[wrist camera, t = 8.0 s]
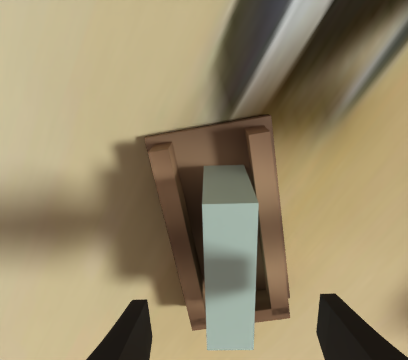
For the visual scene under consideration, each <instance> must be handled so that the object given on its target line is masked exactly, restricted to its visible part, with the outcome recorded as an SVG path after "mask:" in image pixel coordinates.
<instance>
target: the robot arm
mask: <svg viewBox="0 0 408 360" xmlns="http://www.w3.org/2000/svg"><path fill="white" fill-rule="evenodd" d="M316 333H317V336H318V339H319V343H320V346H321V349H322V352H323V355H324V358H325V360H408V357H406V356H405V355H404V354H403V353H401V352H400V351H399V350H398V349H396V348H395V347H394V346H393V345H391V344H390V343H389V342H388V341H387V340H385V339H384V338H383V337H382V336H381V335H380V334H378V333H377V332H376V331H375V330H374V329H373V328H372V327H371V326H369V325H368V324H367V323H366V322H365V321H364V320H363V319H362V318H361V317H360V316H359V315H358V314H356V313H355V312H354V311H353V310H352V309H351V308H350V307H349V306H348V305H347V304H346V303H345V302H344V301H343V300H342V299H341V298H339V297H338V296H337V295H336V294H320V302H319V312H318V321H317V331H316ZM151 344H152V331H151V323H150V316H149V309H148V302H147V300H132V301H131V302H130V304H129V305H128V307H127V308H126V309H125V311H124V312H123V314H122V315H121V316H120V318H119V319H118V321H117V322H116V323H115V325H114V326H113V327H112V329H111V330H110V331H109V333H108V334H107V335H106V336H105V338H104V339H103V340H102V342H101V343H100V344H99V345H98V346H97V348H96V349H95V350H94V351H93V352H92V353H91V355H90V356H89V357H88V358H87V359H86V360H149V358H150V351H151Z"/></svg>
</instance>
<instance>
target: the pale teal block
mask: <svg viewBox="0 0 408 360" xmlns="http://www.w3.org/2000/svg"><path fill="white" fill-rule="evenodd" d="M258 207H259V203H258V200H257V197H256V195H255V192H254V190H253V187H252V184H251V182H250V179H249V177H248V174H247V172H246V169H245V166H244V165H218V166H204V172H203V194H202V218H203V247H204V275H205V303H206V331H207V350H254V322H255V293H256V264H257V236H258Z"/></svg>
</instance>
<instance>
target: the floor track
mask: <svg viewBox="0 0 408 360" xmlns="http://www.w3.org/2000/svg"><path fill="white" fill-rule="evenodd" d="M144 140H145V144H146V148H147V152H148V156H149V160H150V164H151V168H152V172H153V176H154V180H155V184H156V188H157V191H158V195H159V199H160V203H161V207H162V211H163V215H164V219H165V223H166V227H167V231H168V235H169V239H170V243H171V247H172V251H173V255H174V259H175V263H176V267H177V271H178V275H179V279H180V283H181V287H182V291H183V295H184V299H185V303H186V307H187V311H188V315H189V319H190V323H191V327H192V331H193V330H201V329H206V303H205V275H204V247H203V218H202V194H203V172H204V166H218V165H244V166H245V169H246V172H247V174H248V177H249V179H250V182H251V184H252V187H253V190H254V192H255V195H256V197H257V200H258V203H259V207H258V236H257V264H256V293H255V322H263V321H271V320H279V319H286V318H290V312H289V303H288V298H290V293H289V283H288V274H287V264H286V254H285V245H284V235H283V226H282V216H281V206H280V197H279V187H278V178H277V168H276V158H275V149H274V139H273V129H272V120H271V115H264V116H258V117H252V118H247V119H241V120H236V121H230V122H225V123H219V124H213V125H208V126H202V127H197V128H191V129H185V130H180V131H174V132H169V133H163V134H158V135H152V136H146V137H145V138H144ZM255 322H254V323H255Z"/></svg>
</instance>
